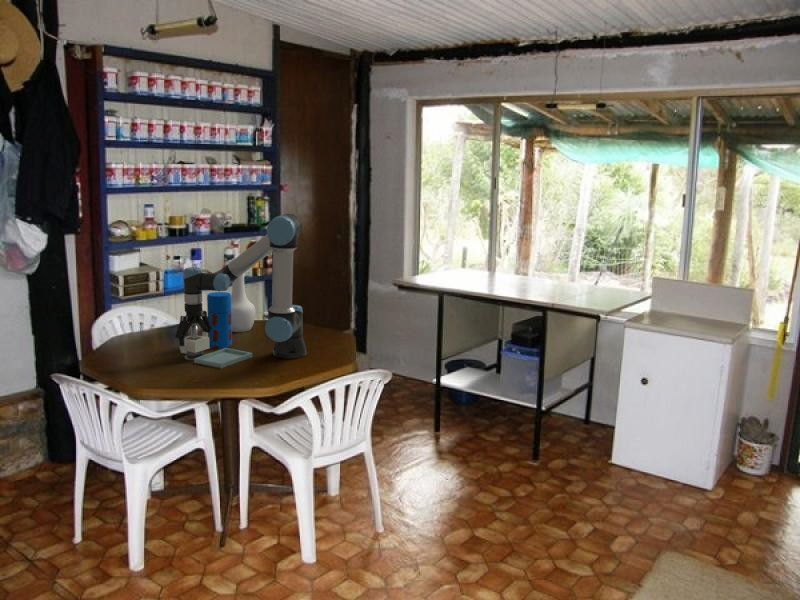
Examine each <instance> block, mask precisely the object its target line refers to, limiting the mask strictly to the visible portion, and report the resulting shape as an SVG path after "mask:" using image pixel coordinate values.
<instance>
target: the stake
mask: <svg viewBox="0 0 800 600" xmlns="http://www.w3.org/2000/svg"><path fill="white" fill-rule="evenodd" d="M198 332H199V331H198V323H195V324H192V326H190V336H191V340H197V339H198V334H199V333H198ZM203 355H205V354H204V350H203V351H200V352H196V353H193V352H188V351H187V353H186V355H184V360H186V361H193V362H194V358H197V357H200V356H203Z"/></svg>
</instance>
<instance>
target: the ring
mask: <svg viewBox="0 0 800 600" xmlns="http://www.w3.org/2000/svg"><path fill="white" fill-rule="evenodd" d="M185 339H186V351H188V352H193V353H196V352H200V351H203V352H204V351H205V350H208V349H211V348H210V344H209V337H204V336H202V335H198V339H197V340H191V335H188V336H185ZM179 351H181V347H180V346H179Z"/></svg>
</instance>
